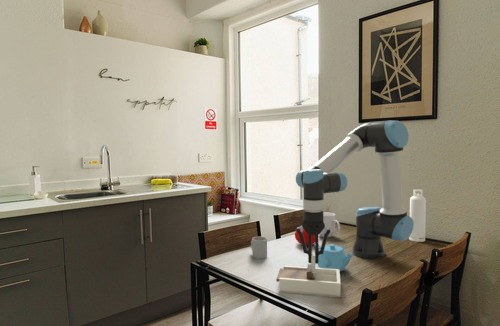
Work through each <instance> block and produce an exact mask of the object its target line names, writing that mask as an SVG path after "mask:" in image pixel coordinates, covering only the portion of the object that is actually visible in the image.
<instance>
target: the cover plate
mask: <svg viewBox="0 0 500 326" xmlns="http://www.w3.org/2000/svg"><path fill="white" fill-rule="evenodd" d="M306 267H307V270H296V269H284V268H279V271H278V274H277V277H276V282H278V283H279V278H291V279H304V280H315V273H311V263H307V266H306Z"/></svg>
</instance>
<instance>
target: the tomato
mask: <svg viewBox="0 0 500 326" xmlns="http://www.w3.org/2000/svg"><path fill="white" fill-rule="evenodd" d="M296 230H297V228H296V229H295V231H294V238H295V241H296V242H298V243H299V244H301V240H300V236H299V234H298V232H297V231H296ZM303 236H304V240H305V244H306V246H308V234H307V233H306V231H305V230H304V228H303ZM301 245H302V244H301ZM312 245H315V235H312Z"/></svg>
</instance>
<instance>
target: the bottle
mask: <svg viewBox="0 0 500 326" xmlns="http://www.w3.org/2000/svg"><path fill="white" fill-rule="evenodd" d="M412 192H413V193H412V194H413V195H412V196H411V197H410V198H409V216H410V217H411V218H412V219H413V222H414V226H413V230H412V233H411V235H410V236H409V238H408V239H409V240H410V241H412V242H416V243H417V242H418V243H419V242H420V243H422V242H425V241H426V223H427V221H426V216H427V215H426V214H427V213H426V211H427V199H426V197H425V196H424V195H423V194H424V193H423V192H424V190H423V189H418V188H416V189H414V188H413V191H412ZM416 192H417V193H416Z"/></svg>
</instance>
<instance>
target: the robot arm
mask: <svg viewBox="0 0 500 326" xmlns="http://www.w3.org/2000/svg"><path fill="white" fill-rule="evenodd" d="M408 141H409V132H408V129H407V126H406V125H405V124H404V123H403V122H402V121H399V120H380V121H369V122H364V123H362V124H361V125H359V126H357V127H356V128H354V129H352V130H351V131H350V132H349V133H347V134H346V135H345V138H344V139H343V141H342V142H339V144H338V145H336V146H335V147H334V148H332V149H331V150H330V151H329V152H328V153H326V155H324V156H323V157H322V158H320V159H319V160H318V161H317V162H315V164H313V165H312V166H311V167H310V168H308V169H304V170H300V171H298V172H297V174H296V176H295V182H296V184H297V186H298V187H299V188H302V189H303V190H302V192H303V194H302V195H303V196H302V197H303V199H302V201H303V202H302V203H303V205H302V208H303V211H302V213H303V217H302V218H303V221H302V224H301V225H300V226H298V227H296V229H297V230H296V229H295V231H297V232H298V234H299V236H300V240H301V247H302V251H303V253H304V254H306V255H307V259H308V261H307V262H308V264H311V273H315V268H316V264H317V265H318V256H319V255H320V254H323V252H324V248H325V246H326V244H327V240H328V238H329V237H328V235H329V233H330V228H327V227H325V224H324V212H325V211H323V210H324V202H325V201H324V195H325V194H330V193H331V194H332V193H340V192H344V190H346V188H347V186H348V178H347V176H346V175H345V174H344V173H342V172H335V171H336V170H337V169H338V168H339V167H340V166H342V165H343V164H344V163H345V162H346V161H347V160H348V159H349V158H350V157H352V156H353V155H354V154H356V153H358V152H361V151H362V150H363V149H366V148H374V152H375V154H376V155H378V157H379V158H378V160H379V174H380V187H381V202H382V207H380V206H364V207H359V208H358V209H357V210H356V215H355V220H356V222H355V223H356V224H355V226H356V228H355V231H356V235H355V236H356V237H355V239H354V243H353V246H352V254H353V255H354V256H356V257H360V258H364V259H371V260H372V259H381V258H384V257H385V256H386V253H385V252H386V250H385V247H384V242H383V240H382V238H384V239H385V238H386V239H390V240H393V241H397V242H398V241H399V242H405V241H406V240H408V239H409V236H410V235H411V233H412V230H413V226H414V222H413V219H412V218H411V217H410V215H408V210H407V208H405V206H404V202H403V188H402V187H403V185H402V172H401V171H402V169H401V153H402V152H403V151H404V147H406V146H407V145H408V143H409V142H408ZM303 228H304V230H305V231H306V233H307V234H308V245H306V244H305V240H304V236H303ZM323 229H324V233H325V234H324V237H322V242H321V246H319V236H320V235H319V234H320V233H321V232H322V230H323ZM312 235H315V243H314V253H312V251H313V250H312V249H313V248H312V247H313V244H312ZM319 247H321V249H319Z"/></svg>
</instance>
